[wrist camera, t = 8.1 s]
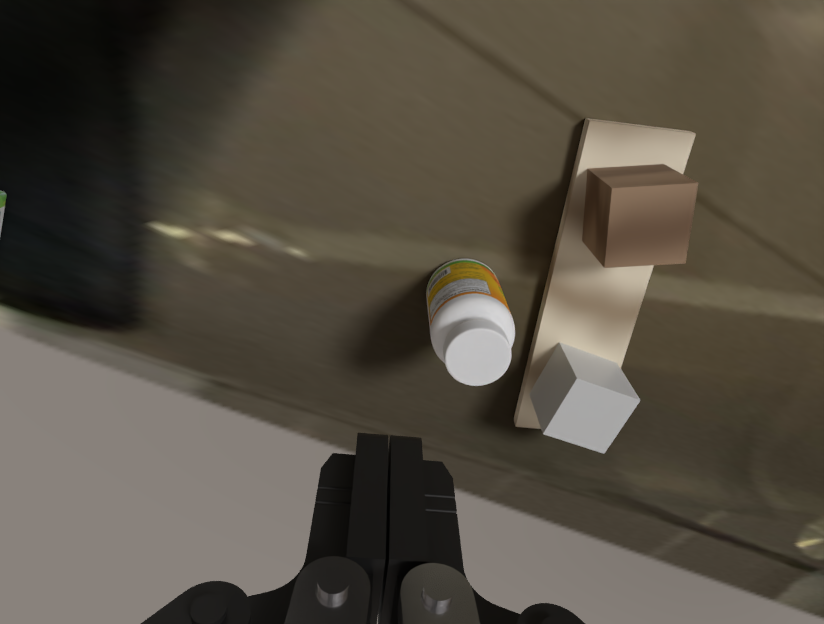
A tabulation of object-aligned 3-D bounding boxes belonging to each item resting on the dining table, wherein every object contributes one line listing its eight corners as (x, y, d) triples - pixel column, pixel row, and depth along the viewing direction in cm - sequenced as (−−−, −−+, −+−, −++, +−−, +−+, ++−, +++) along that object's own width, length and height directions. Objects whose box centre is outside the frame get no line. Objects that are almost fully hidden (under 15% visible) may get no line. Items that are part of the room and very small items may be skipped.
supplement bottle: (497, 321, 45) (521, 394, 36) (426, 324, 45) (433, 398, 36) (500, 254, 43) (526, 315, 34) (424, 257, 43) (432, 319, 34)
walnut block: (587, 168, 39) (612, 188, 35) (663, 163, 39) (698, 183, 35) (581, 240, 41) (604, 268, 37) (654, 236, 41) (685, 263, 37)
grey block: (559, 342, 45) (576, 378, 40) (616, 362, 46) (640, 400, 41) (529, 394, 47) (542, 433, 42) (584, 412, 48) (604, 453, 43)
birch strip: (585, 118, 39) (589, 120, 38) (689, 131, 39) (695, 133, 38) (513, 419, 49) (515, 426, 48) (595, 426, 50) (599, 433, 49)
